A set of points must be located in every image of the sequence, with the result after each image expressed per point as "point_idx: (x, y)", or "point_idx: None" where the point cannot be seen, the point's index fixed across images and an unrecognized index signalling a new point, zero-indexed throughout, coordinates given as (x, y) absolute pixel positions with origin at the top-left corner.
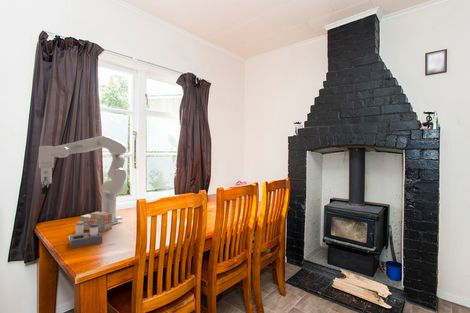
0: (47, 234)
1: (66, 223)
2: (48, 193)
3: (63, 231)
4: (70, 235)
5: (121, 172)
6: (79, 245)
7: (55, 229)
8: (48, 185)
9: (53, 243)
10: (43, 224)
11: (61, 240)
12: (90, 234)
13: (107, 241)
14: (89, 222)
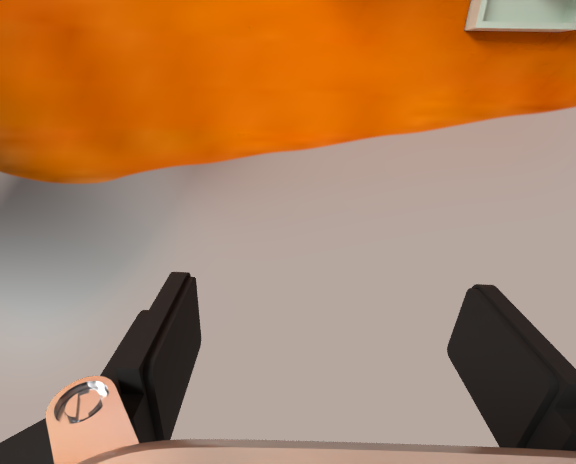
0: (290, 136)
1: (52, 8)
2: (490, 285)
3: (272, 45)
4: (482, 11)
5: None
6: None
7: (198, 91)
8: (143, 379)
9: (487, 112)
10: (43, 154)
11: (464, 70)
12: None
13: None
14: None
